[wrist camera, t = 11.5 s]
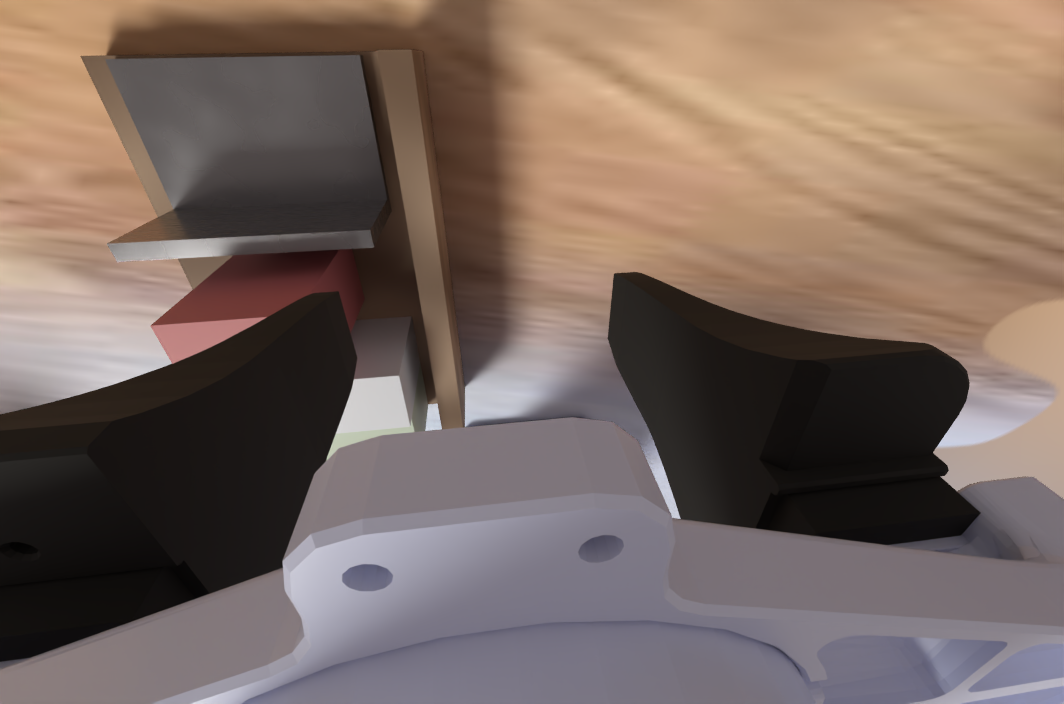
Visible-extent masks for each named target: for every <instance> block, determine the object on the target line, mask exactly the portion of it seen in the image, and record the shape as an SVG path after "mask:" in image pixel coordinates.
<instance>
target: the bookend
mask: <svg viewBox="0 0 1064 704" xmlns="http://www.w3.org/2000/svg"><path fill="white" fill-rule="evenodd" d="M105 61H106V63H107V65H108V67H109V70H110V72H111V74H112V76H113V78H114V80H115V83H116V85H117V87H118V89H119V91H120V94H121V96H122V98H123V100H124V102H125V104H126V107H127V109H128V111H129V113H130V115H131V118H132V120H133V122H134V124H135V126H136V129H137V131H138V133H139V135H140V137H141V139H142V142H143V144H144V146H145V148H146V150H147V153H148V155H149V157H150V159H151V161H152V164H153V166H154V168H155V170H156V172H157V174H158V177H159V179H160V181H161V183H162V185H163V188H164V190H165V192H166V194H167V196H168V198H169V201H170V203H171V205H172V207H173V210H171V211H169V212H167V213H165V214H163V215H162V216H160V217H158V218H156V219H154V220H152V221H150V222H148V223H146V224H144V225H142V226H140V227H138V228H136V229H134V230H133V231H131V232H129V233H127V234H125V235H123V236H121V237H119V238H117V239H115V240H113V241H111V242H109V243H107V245H108V247H109V248H110V250H111V252H112V254H113V255H114V257H115V259H116V261H117V262H124V261H142V260H160V259H178V258H196V257H214V256H232V255H250V254H267V253H285V252H303V251H321V250H339V249H357V248H374V247H375V244H376V242H377V240H378V238H379V236H380V234H381V232H382V230H383V228H384V226H385V224H386V222H387V220H388V218H389V216H390V214H391V212H392V210H391V204H390V199H389V194H388V188H387V183H386V178H385V172H384V167H383V162H382V156H381V151H380V146H379V140H378V135H377V130H376V124H375V119H374V114H373V108H372V103H371V98H370V92H369V87H368V82H367V77H366V71H365V66H364V61H363V55H332V56H269V57H207V58H144V59H105Z"/></svg>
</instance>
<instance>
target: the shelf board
mask: <svg viewBox="0 0 1064 704" xmlns="http://www.w3.org/2000/svg"><path fill="white" fill-rule="evenodd" d="M332 55H363V61H364V66H365V71H366V77H367V82H368V87H369V92H370V98H371V103H372V108H373V114H374V119H375V124H376V130H377V135H378V140H379V146H380V151H381V156H382V162H383V167H384V172H385V178H386V183H387V188H388V194H389V199H390V204H391V210H392V212H391V214H390V216H389V218H388V220H387V222H386V224H385V226H384V228H383V230H382V232H381V234H380V236H379V238H378V240H377V242H376V244H375V247H374V248H357V249H352V251H353V255H354V259H355V263H356V267H357V271H358V275H359V279H360V282H361V286H362V290H363V294H364V298H365V300H364V302H363V305H362V307H361V310H360V312H359V314H358V317H357V319H356V320H365V319H380V318H394V317H408V316H412V321H413V327H414V332H415V337H416V343H417V348H418V353H419V359H420V364H421V369H422V375H423V380H424V385H425V391H426V396H427V401H428V404H436V403H438V408H439V414H440V420H441V426H442V429H453V428H463V427H465V385H464V377H463V369H462V361H461V353H460V345H459V337H458V328H457V320H456V312H455V304H454V296H453V288H452V280H451V272H450V264H449V256H448V248H447V240H446V232H445V224H444V216H443V208H442V200H441V192H440V184H439V176H438V168H437V160H436V152H435V144H434V136H433V128H432V120H431V112H430V104H429V96H428V87H427V79H426V71H425V63H424V55H423V51H418V50H412V49H407V50H377V51H373V52H308V53H242V54H177V55H112V56H81V58H82V60H83V62H84V64H85V67H86V69H87V71H88V73H89V75H90V77H91V79H92V81H93V83H94V85H95V87H96V89H97V92H98V94H99V96H100V98H101V100H102V102H103V104H104V106H105V108H106V110H107V112H108V114H109V116H110V119H111V121H112V123H113V125H114V127H115V129H116V131H117V133H118V135H119V137H120V139H121V141H122V143H123V146H124V148H125V150H126V152H127V154H128V156H129V158H130V160H131V162H132V164H133V166H134V168H135V170H136V173H137V175H138V177H139V179H140V181H141V183H142V185H143V187H144V189H145V191H146V193H147V195H148V197H149V200H150V202H151V204H152V206H153V208H154V210H155V212H156V214H157V216H158V217H160V216H162V215H163V214H165V213H167V212H169V211H171V210H173V207H172V205H171V203H170V201H169V198H168V196H167V194H166V192H165V190H164V188H163V185H162V183H161V181H160V179H159V177H158V174H157V172H156V170H155V168H154V166H153V164H152V161H151V159H150V157H149V155H148V153H147V150H146V148H145V146H144V144H143V142H142V139H141V137H140V135H139V133H138V131H137V129H136V126H135V124H134V122H133V120H132V118H131V115H130V113H129V111H128V109H127V107H126V104H125V102H124V100H123V98H122V96H121V94H120V91H119V89H118V87H117V85H116V83H115V80H114V78H113V76H112V74H111V72H110V70H109V67H108V65H107V63H106V61H105V59H144V58H207V57H269V56H332ZM232 256H233V255H232ZM232 256H214V257H196V258H178V260H179V262H180V264H181V266H182V268H183V270H184V272H185V274H186V276H187V278H188V281H189V283H190V285H191V287H192V289H194V288H196V287H197V286H198V285H199V284H200V283H202V282H203V281H204V280H205V279H206V278H207V277H209V276H210V275H211V274H212V273H213V272H215V271H216V270H217V269H218V268H219V267H220V266H222V265H223V264H224V263H225V262H226V261H227V260H229V259H230V258H231V257H232Z"/></svg>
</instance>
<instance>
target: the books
mask: <svg viewBox="0 0 1064 704" xmlns="http://www.w3.org/2000/svg"><path fill="white" fill-rule="evenodd" d="M351 337H352V340H353V344H354V347H355V351H356V354H357V364H356V370H355V376H354V381H353V386H352V390H351V393H350V396H349V399H348V401H347V404H346V407H345V410H344V413H343V415H342V418H341V421H340V424H339V426H338V429H337V432H336V435H335V437H334V440H333V443H332V445H331V448H330V451H329V454H328V456H327V460H328V459H329V458H330V457H331V456H332V455H333V454H334V453H335V452H336V450H337V449H338V448H341V447H344V446H347V445H351V444H354V443H357V442H361V441H364V440H367V439H371V438H374V437H377V436H381V435H389V434H400V433H410V432H421V431H425V427H426V418H427V409H428V401H427V396H426V391H425V385H424V380H423V375H422V369H421V364H420V359H419V353H418V348H417V343H416V337H415V332H414V327H413V321H412V316H408V317H394V318H380V319H365V320H356V321H355V324H354V326H353V329H352V331H351ZM327 460H326V461H327Z"/></svg>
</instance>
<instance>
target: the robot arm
mask: <svg viewBox="0 0 1064 704" xmlns="http://www.w3.org/2000/svg"><path fill="white" fill-rule="evenodd" d="M608 340H609V343H610V347H611V350H612V353H613V356H614V359H615V362H616V365H617V367H618V369H619V371H620V373H621V375H622V377H623V379H624V381H625V383H626V385H627V387H628V389H629V391H630V393H631V395H632V397H633V399H634V401H635V403H636V405H637V407H638V409H639V411H640V412H641V414H642V416H643V418H644V420H645V422H646V424H647V426H648V428H649V431H650V433H651V435H652V437H653V440H654V442H655V445H656V448H657V450H658V453H659V456H660V459H661V461H662V464H663V467H664V469H665V472H666V475H667V478H668V481H669V484H670V487H671V490H672V493H673V496H674V499H675V502H676V505H677V508H678V512H679V515H680V518H681V519H675V518H672V516H671V513H670V511H669V509H668V507H667V504H666V502H665V500H664V498H663V495H662V493H661V491H660V489H659V487H658V484H657V482H656V480H655V478H654V475H653V473H652V471H651V469H650V466H649V464H648V462H647V460H646V458H645V455H644V453H643V451H642V449H641V446H640V444H639V442H638V440H636V439H635V438H634V437H632V436H631V435H630V434H628V433H627V432H625V431H624V430H623V429H621V428H620V427H619V426H617V425H616V424H615V423H613V422H610V421H601V420H592V419H586V418H574V417H569V418H558V419H548V420H537V421H526V422H516V423H505V424H495V425H484V426H474V427H463V428H453V429H442V430H432V431H421V432H410V433H400V434H389V435H381V436H377V437H374V438H371V439H367V440H364V441H361V442H357V443H354V444H351V445H347V446H344V447H341V448H338V449H337V450H336V452H335V453H334V454H333V455H332V456H331V457H330V458H329V459H328V460H327V456H328V454H329V451H330V448H331V445H332V443H333V440H334V437H335V435H336V432H337V429H338V426H339V424H340V421H341V418H342V415H343V413H344V410H345V407H346V404H347V401H348V399H349V396H350V393H351V390H352V386H353V381H354V376H355V370H356V364H357V354H356V351H355V347H354V344H353V340H352V337H351V333H350V330H349V326H348V322H347V319H346V315H345V312H344V308H343V305H342V301H341V298H340V294H339V291H335V292H320V293H312V294H309V295H307V296H305V297H303V298H301V299H299V300H297V301H295V302H293V303H291V304H289V305H288V306H286V307H284V308H282V309H281V310H279V311H277V312H275V313H274V314H272V315H270V316H268V317H267V318H265V319H263V320H261V321H260V322H258V323H256V324H254V325H252V326H251V327H249V328H247V329H245V330H243V331H241V332H239V333H237V334H235V335H234V336H232V337H230V338H228V339H226V340H224V341H222V342H220V343H218V344H216V345H214V346H212V347H210V348H208V349H206V350H203V351H201V352H199V353H197V354H194V355H192V356H190V357H187V358H185V359H183V360H180V361H178V362H176V363H173V364H170V365H168V366H165V367H163V368H160V369H157V370H154V371H151V372H148V373H146V374H143V375H140V376H137V377H134V378H131V379H129V380H126V381H123V382H120V383H117V384H114V385H111V386H108V387H104V388H101V389H98V390H94V391H91V392H88V393H84V394H81V395H77V396H73V397H70V398H66V399H62V400H59V401H55V402H51V403H47V404H43V405H39V406H35V407H31V408H27V409H23V410H18V411H14V412H9V413H5V414H0V704H1064V499H1063V498H1061V497H1060V496H1059V495H1057V494H1056V493H1055V492H1053V491H1052V490H1050V489H1049V488H1048V487H1046V486H1045V485H1044V484H1042V483H1041V482H1039V481H1038V480H1037V479H1036V478H1034V477H1017V478H1009V479H1001V480H992V481H984V482H977V483H973V484H970V485H967V486H966V487H964V488H962V489H960V490H959V491H956V490H955V489H953V488H952V487H951V486H950V485H949V484H948V483H947V482H946V481H944V480H943V479H942V478H941V477H940V476H945V475H946V474H947V472H948V467H947V465H946V464H945V463H944V462H943V461H941V460H940V459H939V458H938V457H937V456H936V455H934V454H933V451H934V450H935V448H936V447H937V446H938V444H939V443H940V441H941V440H942V438H943V437H944V435H945V434H946V433H947V431H948V430H949V428H950V427H951V425H952V424H953V422H954V421H955V419H956V418H957V417H958V415H959V413H960V411H961V410H962V408H963V406H964V404H965V402H966V399H967V395H968V390H969V379H968V374H967V370H966V369H965V368H964V367H963V366H962V365H961V364H960V363H959V362H958V361H957V360H955V359H954V358H952V357H950V356H949V355H947V354H945V353H944V352H942V351H941V350H939V349H937V348H936V347H934V346H932V345H929V344H926V343H917V342H904V341H891V340H878V339H866V338H857V337H849V336H842V335H835V334H827V333H821V332H815V331H810V330H804V329H799V328H795V327H790V326H785V325H781V324H776V323H772V322H768V321H764V320H760V319H757V318H754V317H750V316H747V315H744V314H740V313H737V312H734V311H731V310H728V309H725V308H722V307H720V306H717V305H715V304H712V303H710V302H707V301H704V300H702V299H700V298H697V297H695V296H692V295H690V294H688V293H686V292H683V291H681V290H679V289H677V288H675V287H672V286H670V285H668V284H666V283H664V282H661V281H659V280H657V279H655V278H652V277H650V276H647V275H645V274H642V273H638V272H630V273H615V274H614V279H613V290H612V301H611V311H610V322H609V332H608ZM326 460H327V461H326Z"/></svg>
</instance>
